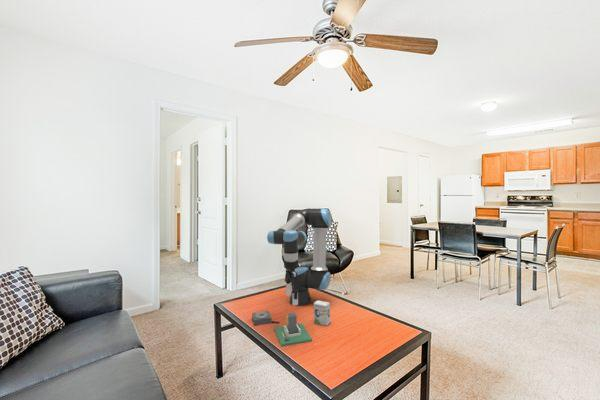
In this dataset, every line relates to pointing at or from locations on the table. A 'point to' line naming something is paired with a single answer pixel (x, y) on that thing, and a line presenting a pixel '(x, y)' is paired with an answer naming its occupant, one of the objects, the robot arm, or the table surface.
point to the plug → (292, 323)
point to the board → (292, 335)
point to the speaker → (261, 318)
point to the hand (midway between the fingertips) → (291, 299)
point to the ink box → (322, 312)
